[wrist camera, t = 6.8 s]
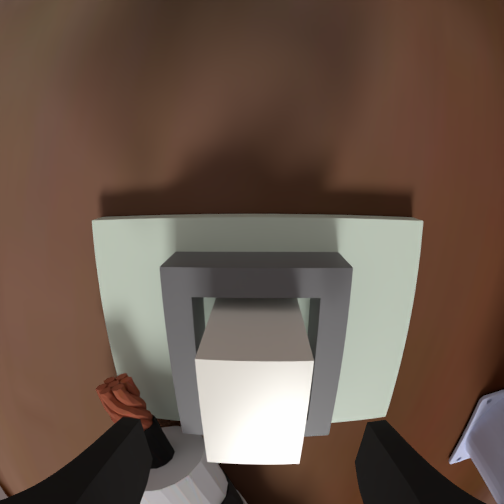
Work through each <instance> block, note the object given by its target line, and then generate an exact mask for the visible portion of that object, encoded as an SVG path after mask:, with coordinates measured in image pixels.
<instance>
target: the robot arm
mask: <svg viewBox="0 0 504 504" xmlns="http://www.w3.org/2000/svg"><path fill="white" fill-rule="evenodd" d="M468 458H471V459H472V461H473V462H474V464H475V466H476V467H477V469H478V471H479V473H480V474H481V476H482V478H483V479H484V481H485V483H486V485H487V486H488V488H489V490H490V492H491V493H492V495H493V497H494V499H495V501H496V502H497V504H504V390H501V391H498V392H494V393H491V394H488V395H484V396H483V397H481V398H480V399H479V401H478V403H477V406H476V408H475V410H474V412H473V414H472V416H471V419H470V421H469V423H468V425H467V427H466V429H465V431H464V433H463V435H462V437H461V439H460V440H459V442H458V444H457V446H456V448H455V450H454V451H453V453H452V455H451V457H450V458H449V463H450V464H453V463H456V462H459V461H462V460H465V459H468ZM152 459H153V458H152V455H151V452H150V449H149V446H148V443H147V440H146V436H145V433H144V430H143V426H142V423H141V419H136V418H130V417H124V416H123V417H122V418H121V419H120V420H118V421H117V422H116V423H115V424H114V425H113V426H112V427H111V428H110V429H108V430H107V431H106V432H105V433H104V434H103V435H102V436H101V437H100V438H98V439H97V440H96V441H95V442H94V443H93V444H92V445H90V446H89V447H88V448H87V449H86V450H85V451H83V452H82V453H81V454H80V455H79V456H77V457H76V458H75V459H74V460H72V461H71V462H70V463H68V464H67V465H66V466H64V467H63V468H61V469H60V470H59V471H57V472H56V473H54V474H53V475H51V476H50V477H48V478H47V479H45V480H43V481H42V482H40V483H38V484H36V485H35V486H33V487H31V488H29V489H27V490H24V491H22V492H20V493H18V494H15V495H13V496H11V497H8V498H6V499H3V500H0V504H140V502H141V500H142V497H143V494H144V491H145V489H146V486H147V482H148V478H149V474H150V469H151V464H152ZM355 465H356V472H357V479H358V485H359V489H360V493H361V496H362V499H363V503H364V504H486V503H484V502H482V501H480V500H478V499H476V498H475V497H473V496H471V495H470V494H468V493H467V492H465V491H463V490H462V489H460V488H459V487H457V486H456V485H455V484H453V483H452V482H451V481H449V480H448V479H447V478H446V477H444V476H443V475H442V474H441V473H439V472H438V471H437V470H436V469H435V468H434V467H432V466H431V465H430V464H429V463H428V462H427V461H426V460H425V459H424V458H423V457H422V456H420V455H419V454H418V453H417V452H416V451H415V450H414V449H413V448H412V447H411V446H410V445H409V444H408V443H407V442H406V441H405V440H404V439H403V438H402V437H401V436H400V434H399V433H398V432H397V431H396V430H395V429H394V428H393V427H392V426H391V425H390V424H389V423H388V422H387V421H386V420H381V421H374V422H367V425H366V429H365V432H364V435H363V439H362V442H361V445H360V448H359V451H358V454H357V457H356V460H355Z"/></svg>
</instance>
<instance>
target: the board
mask: <svg viewBox="0 0 504 504" xmlns="http://www.w3.org/2000/svg"><path fill="white" fill-rule="evenodd" d="M92 228H93V239H94V248H95V257H96V265H97V273H98V280H99V287H100V294H101V300H102V306H103V311H104V317H105V322H106V328H107V333H108V337H109V342H110V347H111V351H112V356H113V360H114V364H115V368H116V373H117V376H118V375H120V374H123V373H127V375H128V377H132V379H133V382H134V383H135V385H136V386H137V388H138V389H139V391H140V398H142V399H143V400H144V401H145V403H146V407H147V409H146V410H149V411H150V412H151V414H152V415H154V416H155V418H159V419H167V420H176V421H180V422H181V427H182V432H183V433H185V434H196V435H203V427H202V419H201V411H200V403H199V394H198V385H197V376H196V366H195V357H196V354H197V351H198V348H199V345H200V343H201V340H202V337H203V334H204V331H205V328H206V325H207V322H208V319H209V317H210V314H211V311H212V308H213V305H214V302H215V299H216V298H297V299H298V303H299V307H300V310H301V314H302V318H303V321H304V325H305V329H306V333H307V336H308V340H309V344H310V348H311V351H312V355H313V359H314V365H313V374H312V382H311V390H310V397H309V405H308V412H307V419H306V426H305V432H304V436H321V435H329V431H330V426H331V423H333V422H344V421H354V420H363V419H371V418H379V417H385V416H386V413H387V410H388V407H389V403H390V400H391V397H392V393H393V390H394V386H395V382H396V379H397V375H398V371H399V367H400V363H401V359H402V355H403V350H404V346H405V342H406V337H407V332H408V327H409V322H410V317H411V312H412V306H413V300H414V294H415V288H416V281H417V274H418V267H419V259H420V250H421V240H422V229H423V221H422V220H419V219H416V218H413V217H392V216H364V215H325V214H181V215H141V216H113V217H101V218H98V219H95V220H92Z"/></svg>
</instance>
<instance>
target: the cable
mask: <svg viewBox="0 0 504 504" xmlns="http://www.w3.org/2000/svg"><path fill="white" fill-rule="evenodd" d="M104 383H105V384H102V385H99V386H98V387H97V388H96V391H97V394H98V396H99V398H100V400H101V402H102V404H103V406H104V408H105V410H106V411H107V412H108V413H109V415H110V416H111V419H112V421H113V422H114V423H116V422H117V421H118V420H120V419H121V418H122V417H123V416H124V417H130V418H136V419H141V423H142V426H143V430H144V433H145V436H146V440H147V443H148V446H149V449H150V452H151V455H152V458H153V459H152V464H151V469H150V474H149V478H148V482H147V486H146V489H145V491H144V494H143V497H142V500H141V502H140V504H247V502H246V501H245V499H244V498H243V497H242V495H241V494H240V493H239V491H238V490H236V489H235V487H234V486H233V484H232V482H231V481H230V479H229V478H228V476H227V475H226V473H225V472H224V471H223V469H221V468H220V466H219V465H218V463H215V462H207V456H206V449H205V442H204V439H203V437H202V436H201V435H196V434H185V433H183V432H182V427H181V426H170V427H163V428H161V427H160V425H159V423H158V421H157V419H156V418H155V416H154V415H152V414H151V412H150V411H149V410H146V409H147V407H146V403H145V401H144V400H143V399H142V398H140V391H139V389H138V388H137V386H136V385H135V383H134V382H133V379H132V377H128V375H127V373H123V374H120V375H118V376H117V377H116V379H115V378H114V377H110V378H107V379H106V380H105V381H104Z"/></svg>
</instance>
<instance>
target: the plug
mask: <svg viewBox="0 0 504 504" xmlns="http://www.w3.org/2000/svg"><path fill="white" fill-rule="evenodd" d="M313 365H314V359H313V355H312V351H311V348H310V344H309V340H308V336H307V333H306V329H305V325H304V321H303V318H302V314H301V310H300V307H299V303H298V299H297V298H216V299H215V302H214V305H213V308H212V311H211V314H210V317H209V319H208V322H207V325H206V328H205V331H204V334H203V337H202V340H201V343H200V345H199V348H198V351H197V354H196V357H195V366H196V376H197V385H198V394H199V403H200V411H201V419H202V427H203V435H204V442H205V449H206V456H207V462H215V463H231V464H299V463H300V457H301V451H302V445H303V438H304V432H305V426H306V419H307V412H308V405H309V397H310V390H311V382H312V374H313Z"/></svg>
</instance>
